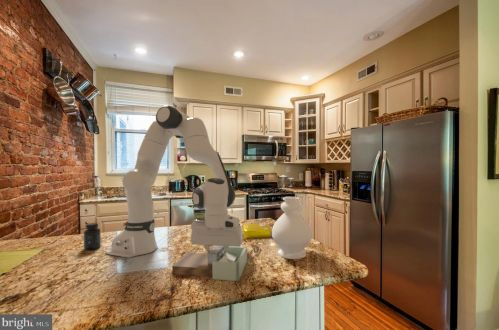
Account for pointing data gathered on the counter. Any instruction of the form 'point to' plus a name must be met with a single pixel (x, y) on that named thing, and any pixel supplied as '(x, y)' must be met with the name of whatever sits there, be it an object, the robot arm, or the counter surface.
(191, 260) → the board
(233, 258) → the tile far
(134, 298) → the counter surface
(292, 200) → the decorative vase
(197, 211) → the protein box
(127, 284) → the counter surface
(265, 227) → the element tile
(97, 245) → the supplement bottle
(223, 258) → the tile near
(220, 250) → the grey block
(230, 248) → the box
